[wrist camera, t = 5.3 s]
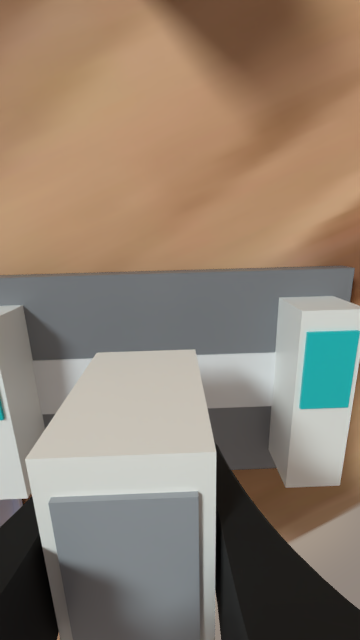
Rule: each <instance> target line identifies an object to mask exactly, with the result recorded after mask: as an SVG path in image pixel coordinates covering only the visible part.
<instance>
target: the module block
mask: <svg viewBox="0 0 360 640" xmlns="http://www.w3.org/2000/svg"><path fill="white" fill-rule="evenodd" d="M25 462H26V467H27V472H28V477H29V483H30V488H31V493H32V498H33V503H34V508H35V513H36V518H37V523H38V528H39V533H40V538H41V543H42V549H43V554H44V559H45V564H46V569H47V574H48V579H49V584H50V589H51V594H52V599H53V604H54V609H55V615H56V620H57V625H58V630H59V635H60V640H215V556H216V448H215V443H214V438H213V433H212V428H211V423H210V419H209V414H208V409H207V404H206V399H205V394H204V389H203V385H202V380H201V375H200V370H199V365H198V360H197V355H196V351H195V349H191V350H161V351H130V352H100V353H96V354H95V356H94V357H93V359H92V360H91V362H90V363H89V365H88V366H87V368H86V369H85V371H84V372H83V374H82V375H81V377H80V378H79V380H78V381H77V383H76V384H75V386H74V387H73V389H72V390H71V392H70V393H69V395H68V396H67V398H66V399H65V401H64V402H63V403H62V405H61V406H60V408H59V409H58V411H57V412H56V414H55V415H54V417H53V418H52V420H51V421H50V423H49V424H48V426H47V427H46V429H45V430H44V432H43V433H42V435H41V436H40V438H39V439H38V441H37V442H36V444H35V445H34V447H33V448H32V450H31V451H30V453H29V454H28V456H27V457H26V458H25Z"/></svg>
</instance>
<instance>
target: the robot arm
mask: <svg viewBox="0 0 360 640" xmlns="http://www.w3.org/2000/svg"><path fill="white" fill-rule="evenodd" d="M215 448H216V556H215V590H216V597H217V603H218V612H219V621H220V631H221V640H360V610H359V609H358V608H357V607H355V606H354V605H353V604H352V603H350V602H349V601H348V600H347V599H346V598H344V597H343V596H342V595H341V594H340V593H339V592H338V591H337V590H335V589H334V588H333V587H332V586H331V585H330V584H329V583H328V582H326V581H325V580H324V579H323V578H322V577H321V576H320V575H319V574H318V573H317V572H316V571H315V570H314V569H313V568H312V567H310V565H309V564H308V563H307V562H306V561H305V560H304V559H303V558H301V557H300V556H299V555H298V554H297V553H296V552H295V551H294V550H293V549H292V548H291V546H290V545H289V544H288V543H287V542H286V541H285V540H284V539H283V538H282V537H281V536H280V534H279V533H278V532H277V531H276V530H275V529H274V528H273V526H272V525H271V524H270V523H269V522H268V521H267V519H266V518H265V517H264V516H263V514H262V513H261V512H260V511H259V509H258V508H257V507H256V505H255V504H254V503H253V501H252V500H251V499H250V497H249V496H248V495H247V493H246V492H245V490H244V489H243V487H242V486H241V484H240V483H239V481H238V480H237V478H236V477H235V475H234V474H233V472H232V471H231V469H230V467H229V466H228V464H227V462H226V460H225V459H224V457H223V455H222V453H221V451H220V449H219V446H218V445H217V444H216V443H215ZM58 632H59V630H58V625H57V620H56V615H55V609H54V604H53V599H52V594H51V589H50V584H49V579H48V574H47V569H46V564H45V559H44V554H43V549H42V543H41V538H40V533H39V528H38V523H37V518H36V513H35V508H34V503H33V498H32V497H31V498H30V499H29V500H28V501H27V502H26V503H25V504H24V505H23V503H22V499H3V500H0V640H57V636H58Z"/></svg>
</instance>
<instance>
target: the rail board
mask: <svg viewBox="0 0 360 640" xmlns="http://www.w3.org/2000/svg"><path fill="white" fill-rule="evenodd" d="M354 269H355V268H352V267H346V266H316V267H281V268H245V269H209V270H173V271H138V272H102V273H66V274H31V275H0V500H3V499H27V498H28V497H29V496H30V494H31V488H30V483H29V477H28V472H27V467H26V462H25V458H26V457H27V456H28V454H29V453H30V451H31V450H32V448H33V447H34V445H35V444H36V442H37V441H38V439H39V438H40V436H41V435H42V433H43V432H44V430H45V429H46V427H47V426H48V424H49V423H50V421H51V420H52V418H53V417H54V415H55V414H56V412H57V411H58V409H59V408H60V406H61V405H62V403H63V402H64V401H65V399H66V398H67V396H68V395H69V393H70V392H71V390H72V389H73V387H74V386H75V384H76V383H77V381H78V380H79V378H80V377H81V375H82V374H83V372H84V371H85V369H86V368H87V366H88V365H89V363H90V362H91V360H92V359H93V357H94V356H95V354H96V353H100V352H130V351H161V350H191V349H195V351H196V355H197V360H198V365H199V370H200V375H201V380H202V385H203V389H204V394H205V399H206V404H207V409H208V414H209V419H210V423H211V428H212V433H213V438H214V443H216V444H217V445H218V446H219V449H220V451H221V453H222V455H223V457H224V459H225V460H226V462H227V464H228V466H229V467H230V469H231V470H240V469H265V468H277V470H278V472H279V474H280V476H281V479H282V481H283V483H284V485H285V488H292V487H317V486H340V481H341V475H342V468H343V462H344V456H345V449H346V443H347V437H348V430H349V424H350V418H351V411H352V405H353V399H354V392H355V386H356V380H357V373H358V367H359V361H360V306H358V305H356V304H353V303H350V298H351V291H352V284H353V276H354Z"/></svg>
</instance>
